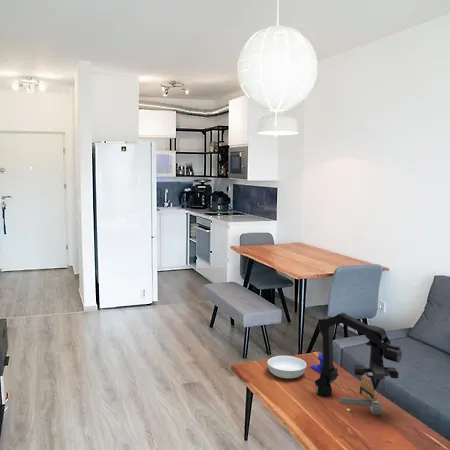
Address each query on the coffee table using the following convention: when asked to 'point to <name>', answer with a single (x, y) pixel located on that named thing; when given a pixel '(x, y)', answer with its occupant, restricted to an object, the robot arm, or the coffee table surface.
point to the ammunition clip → (367, 388)
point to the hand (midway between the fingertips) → (374, 389)
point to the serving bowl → (286, 366)
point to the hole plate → (354, 402)
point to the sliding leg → (375, 407)
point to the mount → (319, 366)
